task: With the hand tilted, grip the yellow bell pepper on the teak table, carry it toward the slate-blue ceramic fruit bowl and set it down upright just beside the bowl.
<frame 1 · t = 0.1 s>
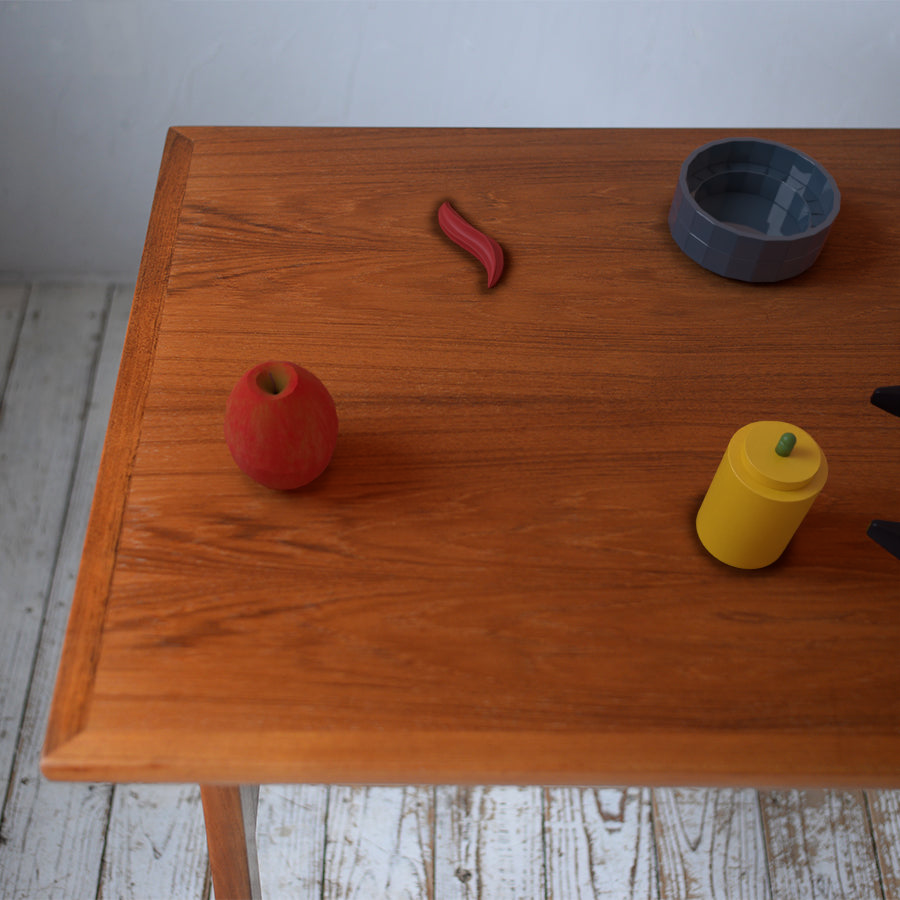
hand: (870, 457, 53), 18 cm above the table, tool horizontal, fingers open, 9 cm apart
cayenne pepper: (471, 244, 89), on the table
apple: (289, 464, 74), on the table
pepper: (740, 530, 71), on the table
bowl: (742, 233, 91), on the table
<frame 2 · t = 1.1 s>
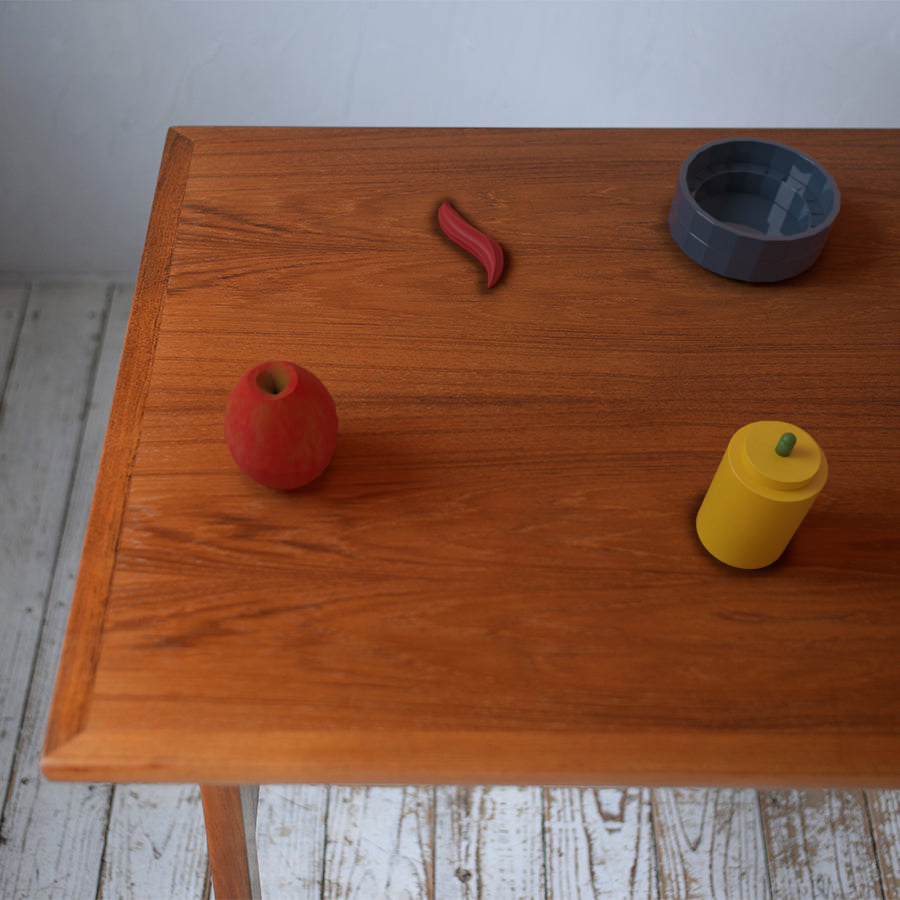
nothing on the table moved.
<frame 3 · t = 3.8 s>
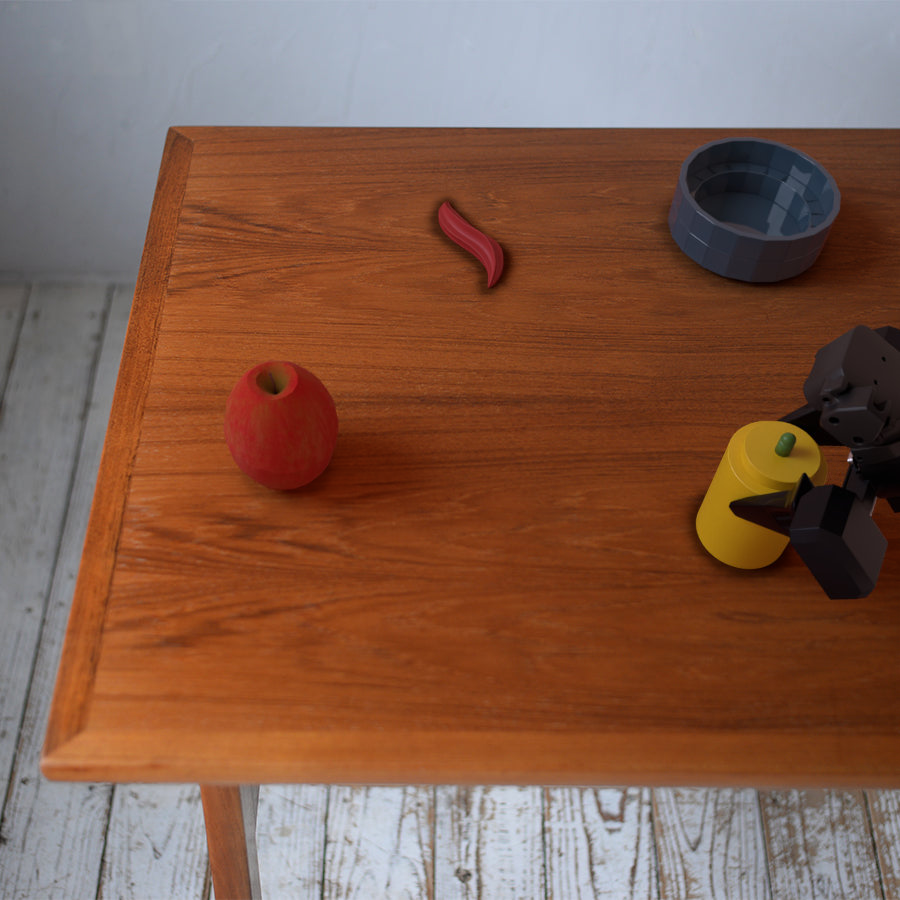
hand: (747, 471, 66), 7 cm above the table, tool tilted 45°, fingers closed on pepper, 6 cm apart
pepper: (740, 530, 71), on the table, touching gripper
everything else where it was.
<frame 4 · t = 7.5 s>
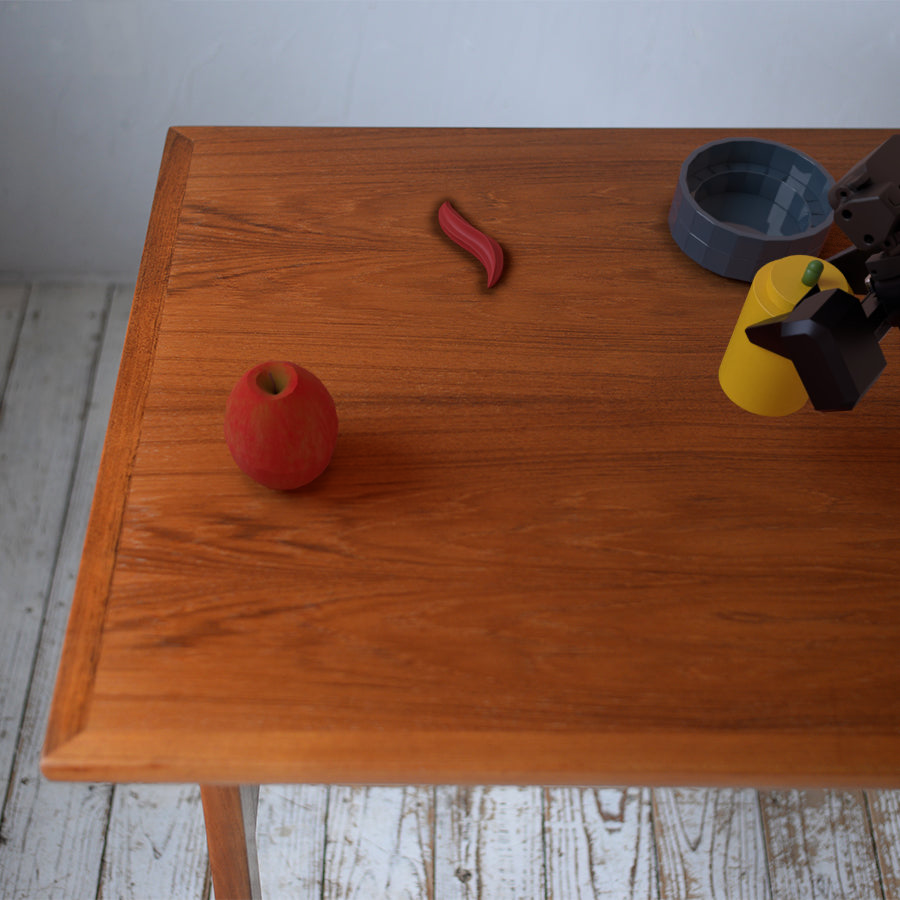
hand: (775, 307, 65), 14 cm above the table, tool tilted 45°, fingers closed on pepper, 6 cm apart
pepper: (763, 381, 70), point 7 cm above the table, touching gripper
everything else where it was.
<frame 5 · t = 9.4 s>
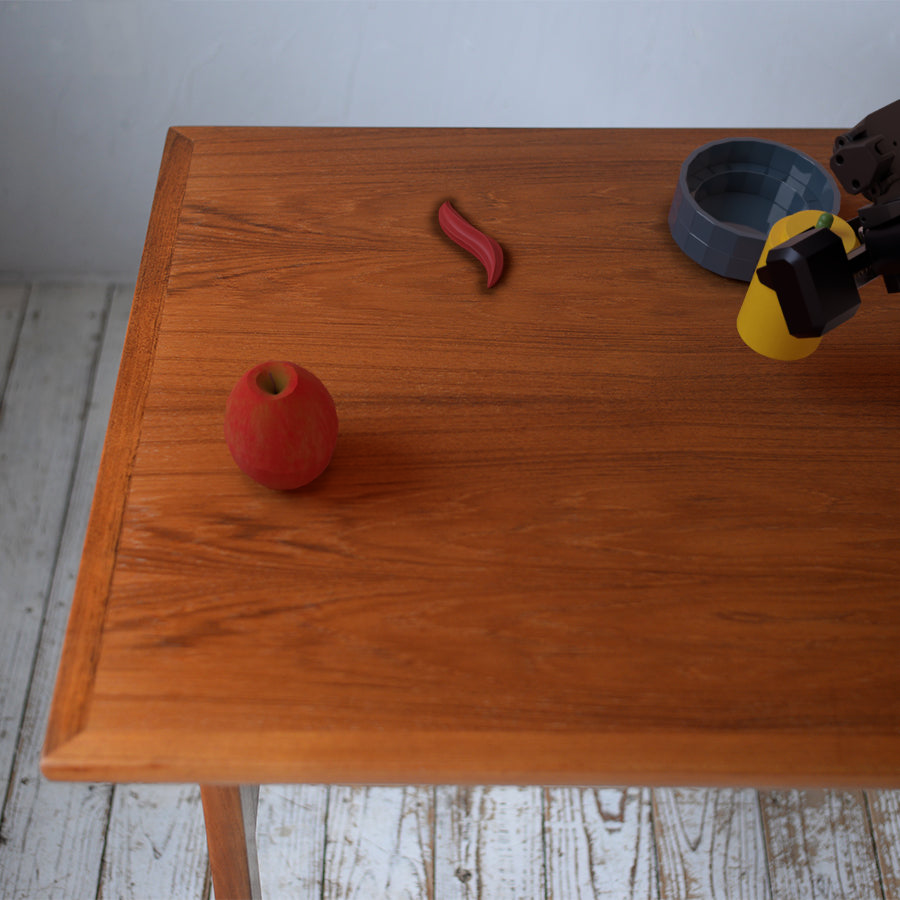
hand: (791, 257, 72), 11 cm above the table, tool tilted 45°, fingers closed on pepper, 6 cm apart
pepper: (778, 329, 77), point 5 cm above the table, touching gripper
everything else where it was.
when the fingers open (7 cm above the table, at t = 11.2 s): pepper stays where it is, on the table.
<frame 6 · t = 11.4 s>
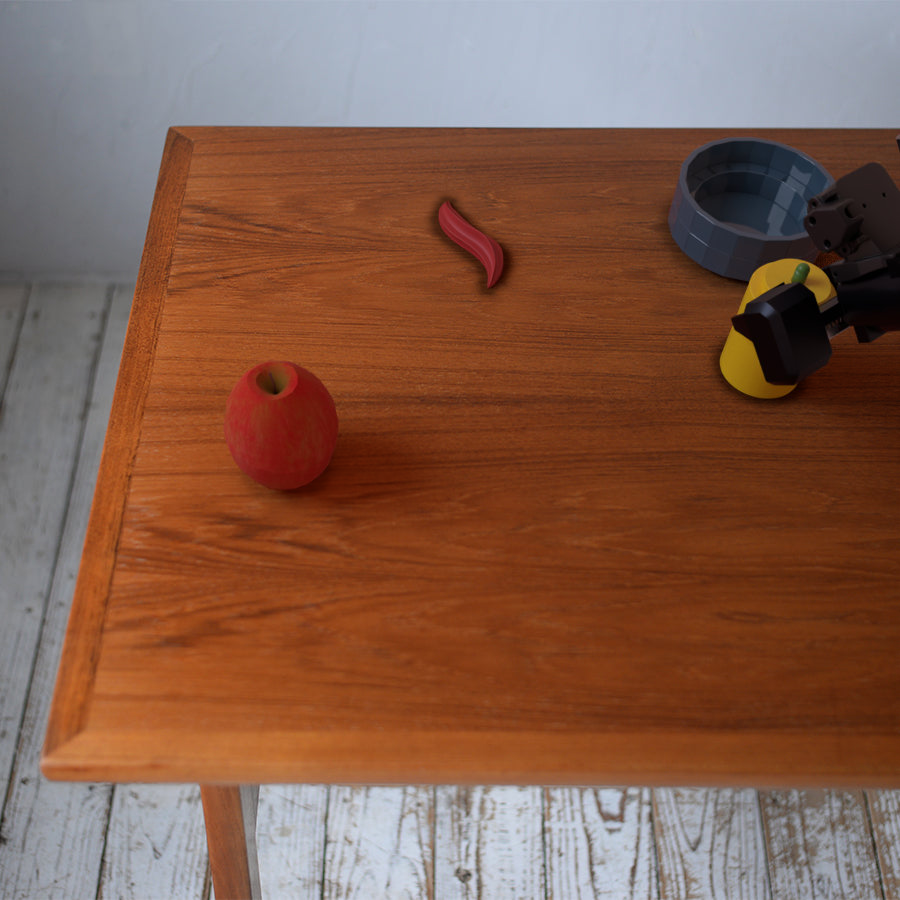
hand: (770, 302, 76), 7 cm above the table, tool tilted 45°, fingers open, 8 cm apart
pepper: (759, 368, 81), on the table
everything else where it was.
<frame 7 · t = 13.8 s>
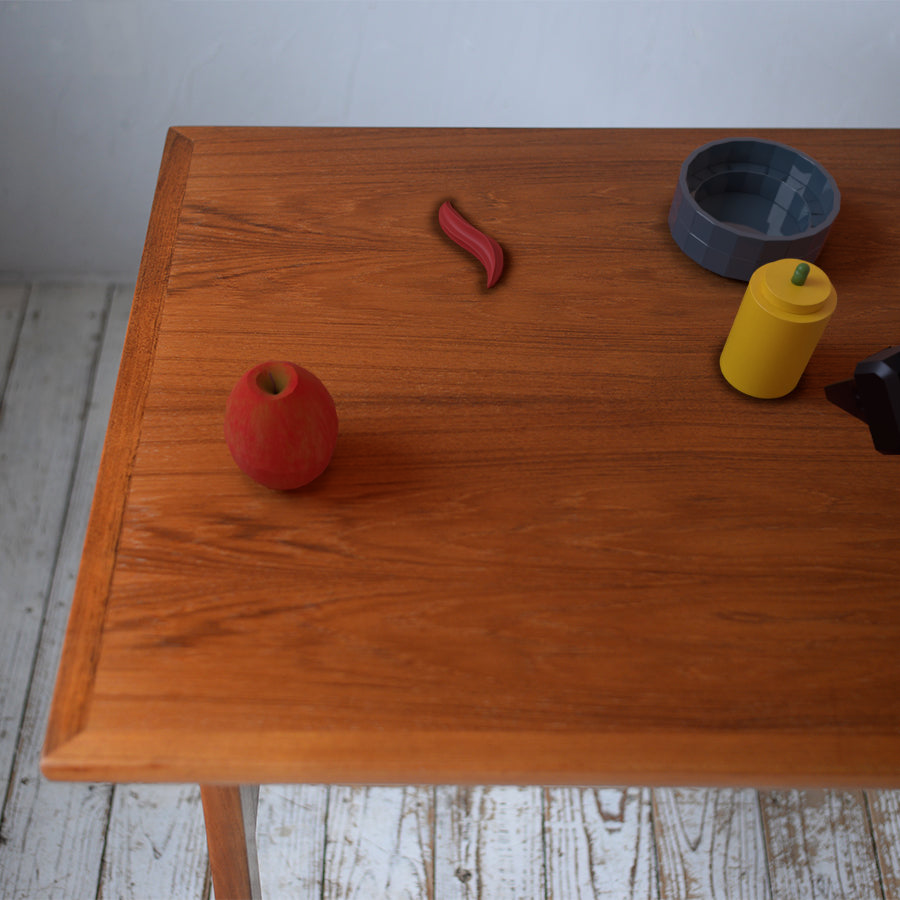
hand: (870, 371, 70), 8 cm above the table, tool tilted 40°, fingers open, 9 cm apart
nothing on the table moved.
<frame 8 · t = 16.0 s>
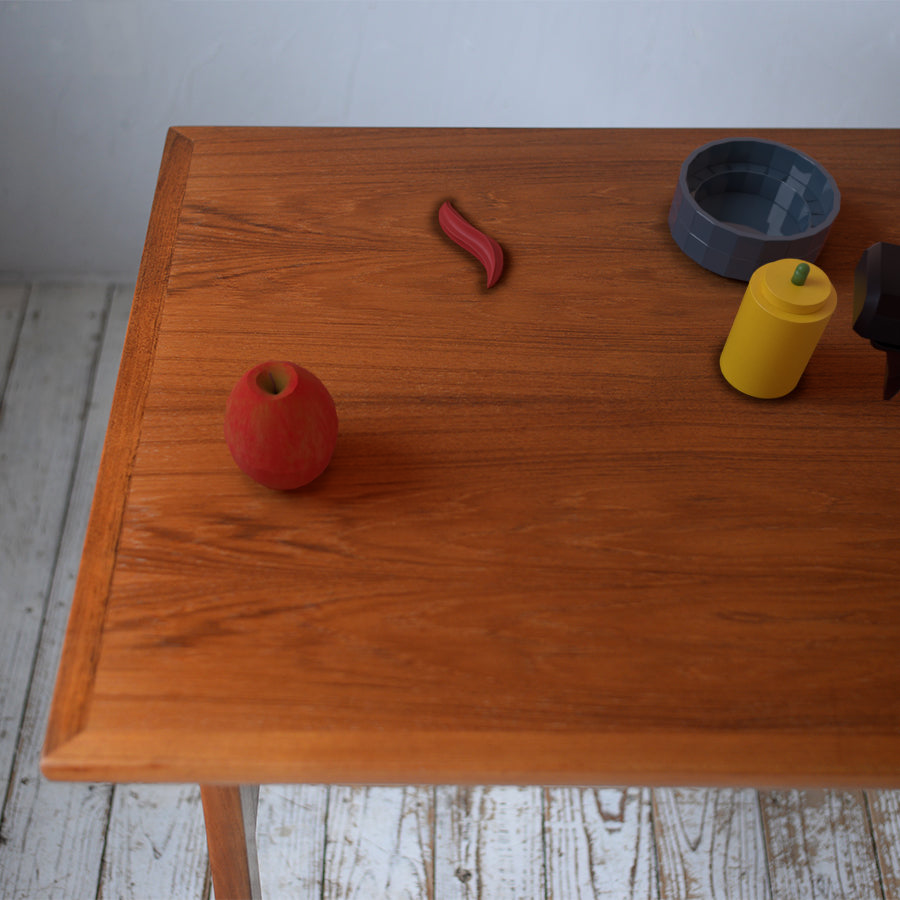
nothing on the table moved.
at the end: pepper inside the target area on the table beside the bowl (1.6 cm from its centre), on the table; pepper tilted 0°; the gripper is holding nothing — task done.
